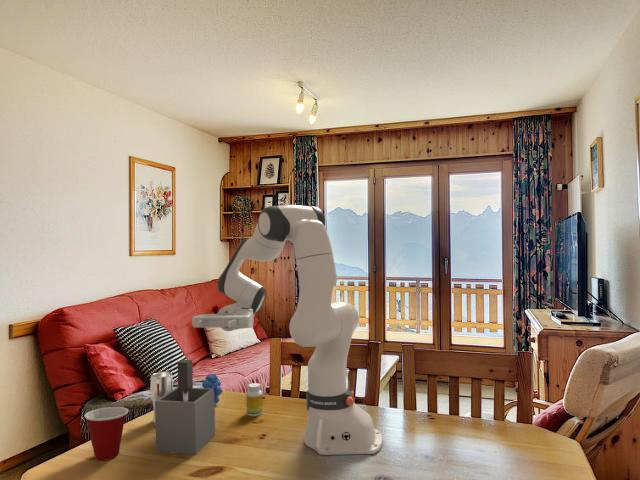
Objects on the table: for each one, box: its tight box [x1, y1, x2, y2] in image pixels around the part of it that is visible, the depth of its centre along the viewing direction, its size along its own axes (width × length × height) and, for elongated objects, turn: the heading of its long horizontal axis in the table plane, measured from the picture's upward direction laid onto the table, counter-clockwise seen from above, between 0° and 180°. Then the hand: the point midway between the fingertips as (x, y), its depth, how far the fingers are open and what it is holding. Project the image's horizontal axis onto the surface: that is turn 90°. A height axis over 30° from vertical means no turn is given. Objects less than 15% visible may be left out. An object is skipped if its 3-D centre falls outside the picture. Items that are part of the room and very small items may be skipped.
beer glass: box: [150, 371, 174, 425], centre depth 143 cm, size 7×7×15 cm
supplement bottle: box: [245, 382, 264, 417], centre depth 147 cm, size 5×5×10 cm
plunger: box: [177, 359, 194, 402], centre depth 126 cm, size 9×9×22 cm
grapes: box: [201, 373, 223, 407], centre depth 153 cm, size 12×7×12 cm, turn 165°
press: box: [154, 386, 216, 455], centre depth 126 cm, size 12×12×14 cm
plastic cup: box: [84, 406, 130, 461], centre depth 120 cm, size 11×11×12 cm
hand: (213, 325), depth 140 cm, fingers open, 8 cm apart
